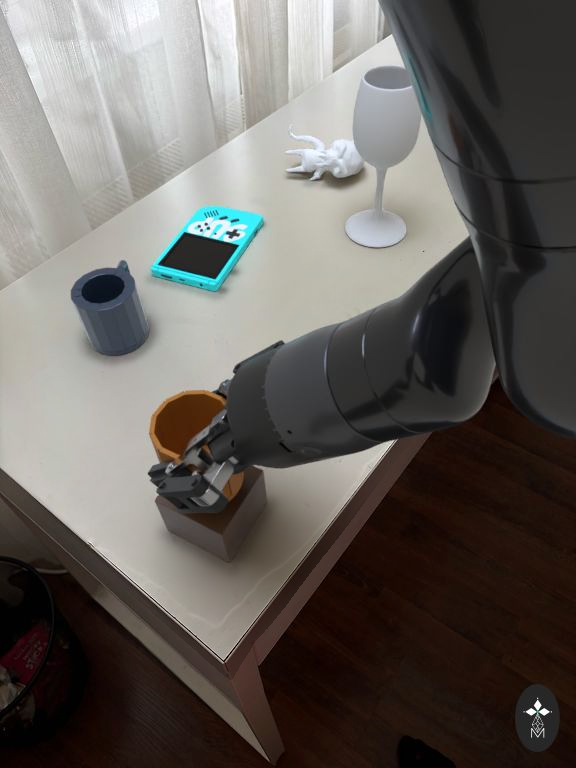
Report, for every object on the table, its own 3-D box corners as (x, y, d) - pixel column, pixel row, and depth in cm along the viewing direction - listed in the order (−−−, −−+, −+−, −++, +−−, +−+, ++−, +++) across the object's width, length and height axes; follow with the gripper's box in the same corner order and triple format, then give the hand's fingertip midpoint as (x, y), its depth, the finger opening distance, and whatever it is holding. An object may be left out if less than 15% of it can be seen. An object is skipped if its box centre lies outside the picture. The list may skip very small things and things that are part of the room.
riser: (229, 563, 54) (221, 535, 49) (167, 530, 56) (154, 500, 51) (267, 501, 58) (263, 470, 53) (207, 473, 60) (198, 440, 55)
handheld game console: (265, 222, 86) (265, 214, 85) (217, 293, 77) (216, 285, 76) (204, 208, 88) (203, 201, 87) (150, 275, 79) (148, 268, 78)
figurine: (278, 123, 88) (355, 116, 84) (301, 127, 96) (373, 122, 91) (280, 181, 91) (355, 178, 86) (303, 181, 99) (372, 178, 94)
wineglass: (410, 215, 86) (434, 64, 69) (401, 252, 81) (423, 98, 64) (352, 207, 87) (361, 57, 71) (339, 243, 82) (345, 90, 66)
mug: (139, 358, 70) (123, 313, 64) (81, 353, 71) (60, 307, 65) (162, 300, 76) (150, 253, 70) (109, 295, 77) (92, 249, 71)
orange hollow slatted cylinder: (217, 523, 48) (203, 472, 42) (154, 490, 50) (132, 438, 44) (257, 463, 52) (249, 408, 45) (196, 435, 54) (181, 379, 47)
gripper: (320, 279, 38) (191, 351, 51) (217, 452, 30) (93, 488, 42) (390, 356, 41) (251, 407, 53) (313, 535, 33) (170, 546, 45)
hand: (181, 442), depth 48 cm, fingers closed on orange hollow slatted cylinder, 6 cm apart
